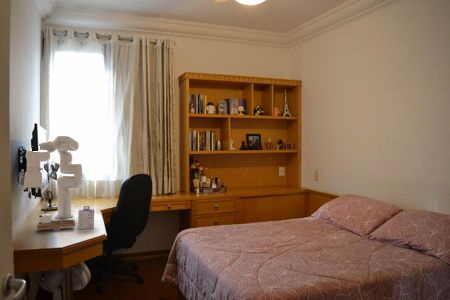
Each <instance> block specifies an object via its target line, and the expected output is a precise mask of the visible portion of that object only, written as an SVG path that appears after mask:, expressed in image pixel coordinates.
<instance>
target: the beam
mask: <svg viewBox="0 0 450 300" xmlns="http://www.w3.org/2000/svg"><path fill="white" fill-rule="evenodd" d="M36 227H37V228H36V229H37V230H45V229H46V230H47V229H52V232H60V231H61V228H74V227H76V219H63V220H51V223H47V224H42V221H37V224H36Z"/></svg>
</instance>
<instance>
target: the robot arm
mask: <svg viewBox="0 0 450 300" xmlns="http://www.w3.org/2000/svg"><path fill="white" fill-rule="evenodd" d="M38 144H39V146H40V150H38V151H32V147H33V146H31V147H30V148H29V149H28V150H27V151H26V153H25V158H26V171H25V173H24V178H23V179H24V180H23V185H22V187H21V189H22V190H25V191H26V192H27V194H28V195H27V196H28V198H29V200H31V199H32V190H31V189H32V188H33V189H34V188H35V191H34V200H35V199H37V198H38V192H39V191H40V190H43V189H45V186H44V184H43V174H42V171H43V169H44V168H43V167H41V162H42V163H43V162H47V161H49V160H50V158H51V153H53V152H56V151H57V152H58V153H59V157H60V159H59V172H60V174H63V175H61V176H59V177H58V178H57V180H56V184H57V192H58V193H57V194H58V195H57V196H58V197H57V198H58V199H57V214H56V215H55V218H57V219H67V218H72V217H74V213H72V204H73V203H72V199H73V198H72V197H73V196H72V195H73V193H72V191H71V189H80V188H81V186H82V182H83V181H82V180H83V165H82V164H81V162H79V161H78V162H77V161H73V154H72V153H71V152H76V151H78V150H79V141H78V140H77V139H76V138H75V137H73V136H72V135H70V134H62V133H61V134H60V133H59V134H57V133H56V134H54V135H52V136H51V137H50V138H49V139H47V140H46V141H44V142H41V143H38Z"/></svg>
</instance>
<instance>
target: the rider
mask: <svg viewBox="0 0 450 300" xmlns="http://www.w3.org/2000/svg"><path fill="white" fill-rule="evenodd" d="M51 218H52V214H51V213H42V215H41V222H42V224H47V223H51V221H52V220H51Z"/></svg>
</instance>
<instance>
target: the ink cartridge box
mask: <svg viewBox="0 0 450 300" xmlns="http://www.w3.org/2000/svg"><path fill="white" fill-rule="evenodd" d="M77 218H78V219H77V229H78V230H84V229H86V230H87V229H94V227H95V226H94V225H95V209H93V208H92V209H91V208H90V206H89V205H88V206H86V205H85V206H83V209H78V215H77Z"/></svg>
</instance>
